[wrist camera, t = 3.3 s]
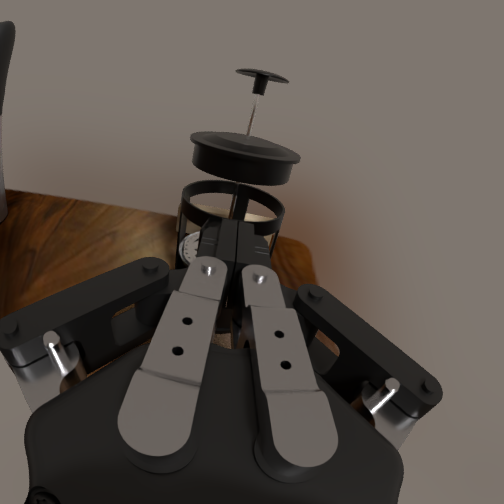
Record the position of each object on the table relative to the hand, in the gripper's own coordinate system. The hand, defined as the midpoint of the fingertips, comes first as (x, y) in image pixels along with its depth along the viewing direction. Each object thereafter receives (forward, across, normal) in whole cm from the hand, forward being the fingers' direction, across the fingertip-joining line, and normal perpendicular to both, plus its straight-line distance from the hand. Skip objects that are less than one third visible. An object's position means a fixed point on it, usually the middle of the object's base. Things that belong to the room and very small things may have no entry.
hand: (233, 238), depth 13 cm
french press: (+10, 0, +14) cm, 18 cm away
